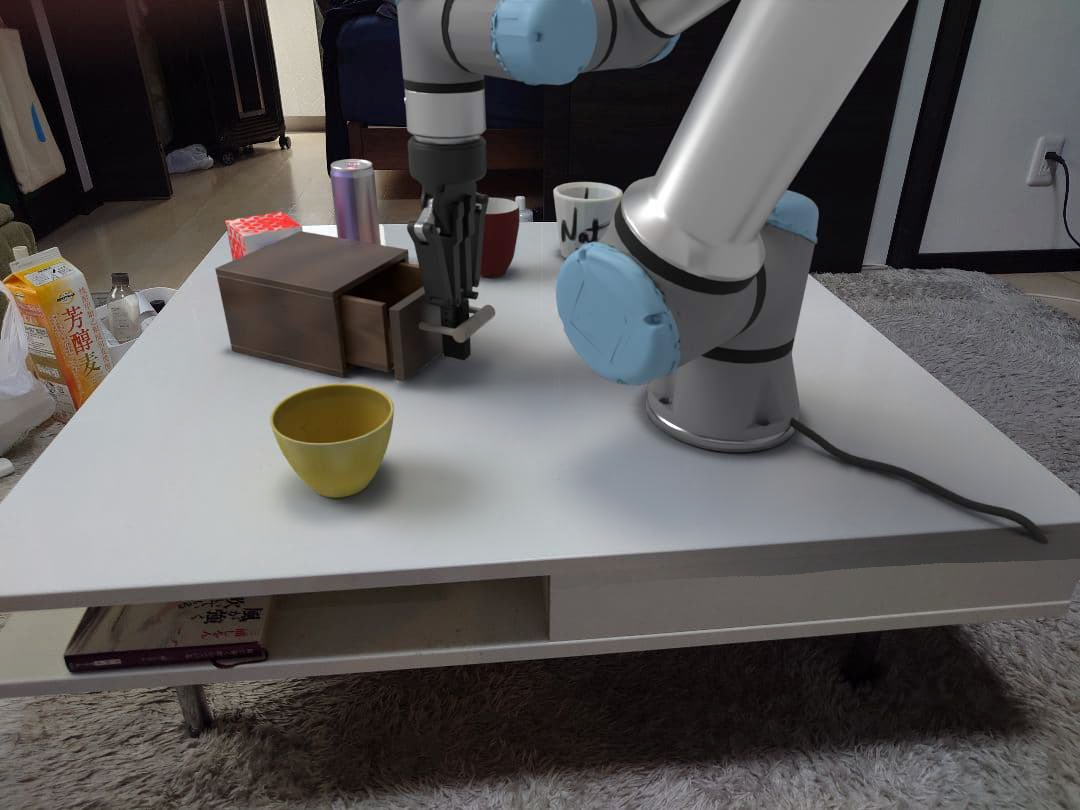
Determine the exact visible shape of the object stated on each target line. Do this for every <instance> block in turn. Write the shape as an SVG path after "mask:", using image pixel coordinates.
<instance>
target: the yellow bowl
mask: <svg viewBox="0 0 1080 810" xmlns="http://www.w3.org/2000/svg"><path fill="white" fill-rule="evenodd" d="M394 415H395V406H394V402H393V401H392V399H391V397H389V395H387V394H386V393H385V392H383V391H382V390H379V389H376V388H375V387H372V386H368V385H364V384H359V383H358V384H357V383H346V382H345V383H328V384H320V385H315V386H311V387H308V388H305V389H302V390H299V391H297V392H295V393H293V394H291V395H288V396H286V397H285V398H284V399H282V400H281V401H280V402H278V404H277V405H275V407H274V408H273V409H272V411H271V413H270V415H269V416H270V417H269V423H270V427H271V430H272V433H273V435H274V438H275V440H276V443H277V445H278V447H279V449H280V451H281V453H282V454H283V456H284V458H285V459H286V462H288V464H289V465H290V467H291V468H292V470H294V472H295V474H296V475H297V476H298V477H299V478H300V479H301V480H302V481H303V482H304V483H305V485H307V486H308V487H309V488H310V489H312V490H313V491H314V492H315V493H317V494H319V495H320V496H323V497H327V498H346V497H351V496H353V495H355V494H358V493H360V492H361V491H363V490H364V489H366V488H367V487H368V486H369V484H370V483H371V482H372V480H373V478H374V477H375V476H376V474H377V472H378V470H379V468H380V466H381V464H382V462H383V460H384V457H385V455H386V452H387V450H388V447H389V442H390V439H391V435H392V430H393V423H394Z"/></svg>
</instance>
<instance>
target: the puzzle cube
mask: <svg viewBox="0 0 1080 810" xmlns="http://www.w3.org/2000/svg"><path fill="white" fill-rule="evenodd" d="M225 227H226V232H227V238H228V243H229V248H230V254H231V258H232V261H233V260H236V259H238V258H240V257H242V256H245V255H247V254H249V253H252V252H254V251H256V250H259V249H261V248H263V247H265V246H268V245H270V244H272V243H275V242H277V241H279V240H281V239H284V238H286V237H288V236H291V235H293V234H295V233H298V232H300V231H303V226H302V225H301V224H300V223H298V222H297V221H296V220H294V219H293V218H291V217H290V216H288V215H287V214H285V213H284V212H283V211H277V212H272V213H264V214H259V215H258V214H257V215H252V216H246V217H239V218H233V219H227V220H225ZM303 232H304V231H303Z"/></svg>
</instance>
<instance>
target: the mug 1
mask: <svg viewBox="0 0 1080 810" xmlns="http://www.w3.org/2000/svg"><path fill="white" fill-rule="evenodd" d="M488 198H489V201H488V206H487V210H486V214H485V221H484V233H483V245H482V258H481V270H480V277H482V278H485V279H497V278H501V277H504V275H505V274H506V273H507V271H508V269H509V268H510V266H511V264H512V262H513V260H514V257H515V253H516V246H517V241H518V234H519V231H520V229H519V228H520V204H519V203H518V202H516V201H514V200H512V199H508V198H501V197H488Z"/></svg>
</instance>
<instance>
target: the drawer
mask: <svg viewBox="0 0 1080 810" xmlns="http://www.w3.org/2000/svg"><path fill="white" fill-rule="evenodd" d="M338 302H339V310H340V318H341V326H342V334H343V342H344V350H345V358H346V363H350V364H354V365H359V367H363V368H368V369H372V370H376V371H381V372H385V373H389V372H391V371H392V370H394V371H393V372H394V381H397V382H401V383H406V382H408V381H409V380H410V379H411V378H412V377H413V376H415V375H416V374H417V373H419V372H420V371H421V370H422V369H423V368H424V367H426V366H427V365H428V364H429V363H430V362H433V360H434V359H436V358H437V357H438V356H439V355H440V354H443V345H442V334H446V335H451V336H453V338H454V339H455V340H456V341H457V342H459V343H462V342H464V341H465V340H467V339H468V338H469V337H470V338H471V337H472V336H473V335H474V334H475V333H476V332H478V331H479V330H480V329H481V328H482V327H484V326H485V325H486V324H487V323H489V322H490V321H491V320H492V319H493V318H494V317H495V316H496V309H495V308H494V306H492V305H490V304H485V305H483V306H482V307H476V306H471V305H469V314H472V315H471V316H469V318H468V319H467V320H466V321H465V322H463V323H462V324H461V325H460V326H458V327H457V328H456V329H453V328H448V327H443V326H441V313H440V306H438V305H432V304H428V303H427V300H426V296H425V291H424V287H423V282H422V277H421V273H420V268H419V264H416V263H410V262H409V263H405V262H400V261H399V262H397V263H395V264H393V265H392V266H390V267H388V268H387V269H385V270H383V271H381V272H380V273H378V274H376V275H374V276H373V277H371V278H369V279H367V280H366V281H364V282H362V283H360V284H359V285H357V286H355V287H353V288H352V289H350V290H348V291H346V292H345V293H343V294H341V295H340V296H338Z"/></svg>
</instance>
